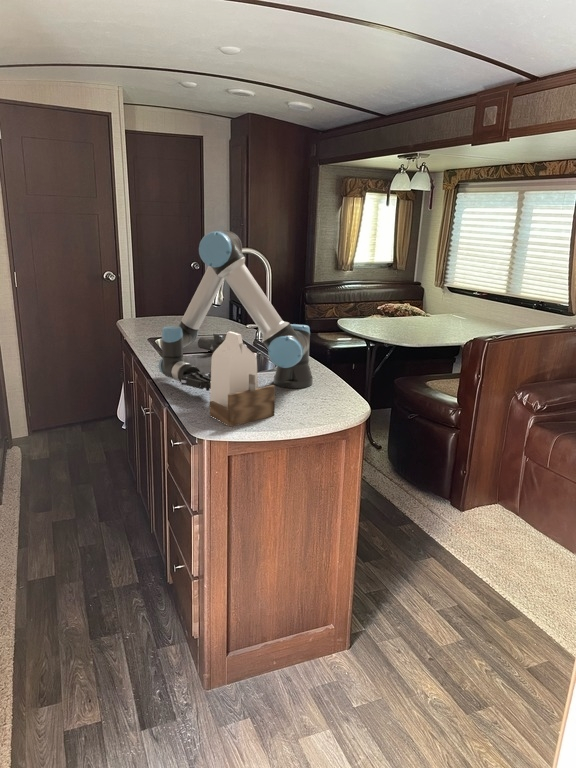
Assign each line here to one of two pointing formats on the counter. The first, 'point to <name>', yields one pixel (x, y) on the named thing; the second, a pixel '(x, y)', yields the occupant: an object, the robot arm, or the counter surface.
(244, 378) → the milk
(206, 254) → the robot arm
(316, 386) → the counter surface
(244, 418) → the bracket
